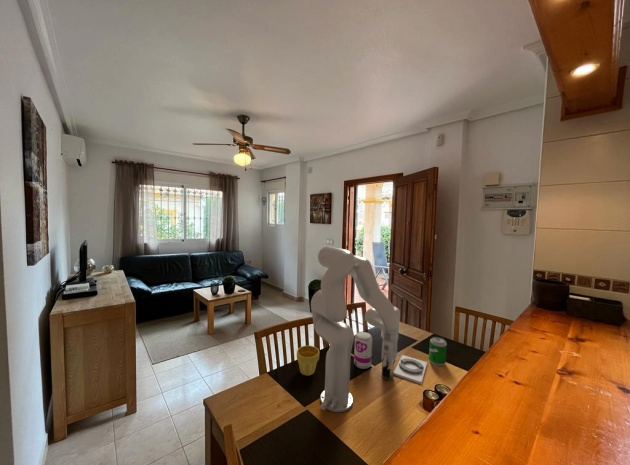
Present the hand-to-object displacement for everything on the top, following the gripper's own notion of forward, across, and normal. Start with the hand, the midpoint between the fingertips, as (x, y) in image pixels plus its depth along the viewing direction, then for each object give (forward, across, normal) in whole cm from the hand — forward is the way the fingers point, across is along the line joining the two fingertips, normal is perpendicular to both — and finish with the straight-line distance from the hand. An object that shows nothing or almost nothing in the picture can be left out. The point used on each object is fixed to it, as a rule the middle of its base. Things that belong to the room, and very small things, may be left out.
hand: (387, 372), depth 119 cm
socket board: (+2, +12, -8) cm, 15 cm away
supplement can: (+2, +3, +13) cm, 14 cm away
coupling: (+2, 0, 0) cm, 2 cm away
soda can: (+2, +25, -18) cm, 31 cm away
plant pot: (+2, -16, +32) cm, 36 cm away
